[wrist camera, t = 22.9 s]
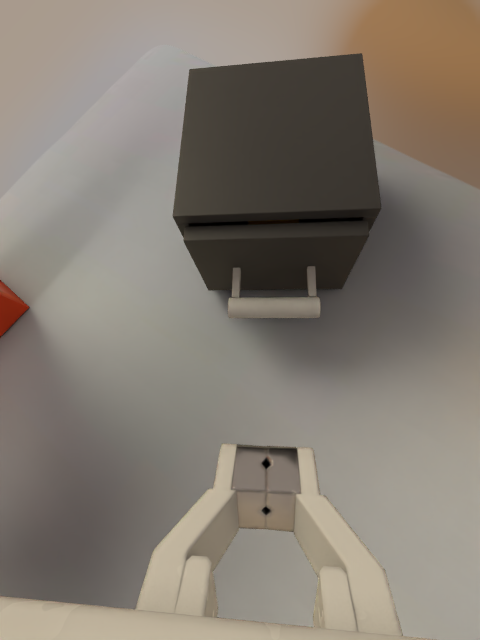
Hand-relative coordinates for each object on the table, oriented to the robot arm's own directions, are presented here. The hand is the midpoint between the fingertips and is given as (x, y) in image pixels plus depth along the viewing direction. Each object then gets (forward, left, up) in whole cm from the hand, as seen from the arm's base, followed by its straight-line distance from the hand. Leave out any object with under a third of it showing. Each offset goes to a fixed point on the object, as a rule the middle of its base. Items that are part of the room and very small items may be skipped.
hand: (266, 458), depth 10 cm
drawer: (+6, +16, -16) cm, 24 cm away
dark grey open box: (+7, +20, -17) cm, 28 cm away
